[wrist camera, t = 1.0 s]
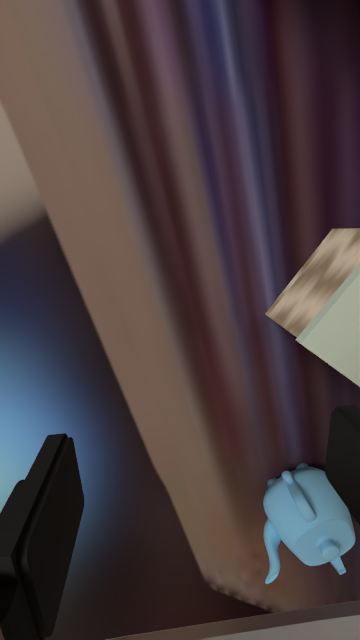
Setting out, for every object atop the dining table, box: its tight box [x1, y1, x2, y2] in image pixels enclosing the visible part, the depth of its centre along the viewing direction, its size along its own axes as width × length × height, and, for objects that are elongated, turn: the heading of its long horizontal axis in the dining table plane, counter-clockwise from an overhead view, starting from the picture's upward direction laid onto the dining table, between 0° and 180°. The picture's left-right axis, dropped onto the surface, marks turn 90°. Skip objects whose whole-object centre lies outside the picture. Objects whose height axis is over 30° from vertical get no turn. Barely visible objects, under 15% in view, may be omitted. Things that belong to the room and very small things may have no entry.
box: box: [265, 228, 360, 337], centre depth 37 cm, size 14×14×10 cm
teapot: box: [263, 463, 355, 584], centre depth 45 cm, size 15×14×11 cm
